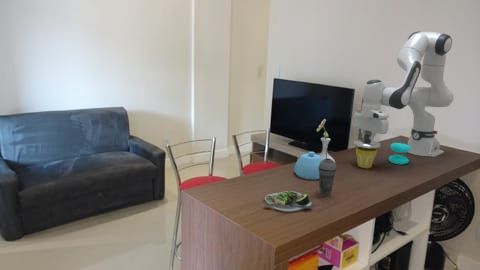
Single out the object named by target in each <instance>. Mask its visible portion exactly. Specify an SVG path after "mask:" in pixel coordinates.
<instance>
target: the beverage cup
mask: <svg viewBox="0 0 480 270" xmlns="http://www.w3.org/2000/svg"><path fill="white" fill-rule="evenodd" d="M327 153H328V147H327V148H326V159H323V160H322V161H321V162H320V164H319V167H318V168H319V179H318V181H319V183H318V185H319V189H318V190H319V195H320V196H321V197H322V196H323V197H330V196H331V194H332V190H333V185H334V180H335V179H334V178H335V175H336V172H337V164H336V161H335V162H334V161H333V160H331V159H329V158H327Z"/></svg>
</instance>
